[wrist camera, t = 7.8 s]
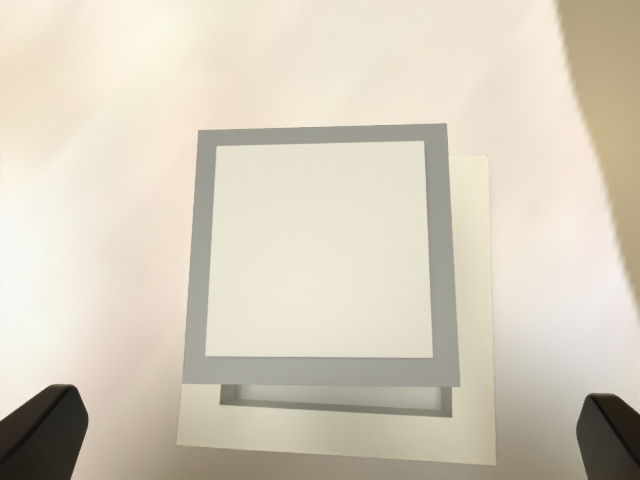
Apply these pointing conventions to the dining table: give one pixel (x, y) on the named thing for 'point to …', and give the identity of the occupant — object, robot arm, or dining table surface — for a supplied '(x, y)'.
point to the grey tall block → (322, 258)
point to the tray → (379, 401)
